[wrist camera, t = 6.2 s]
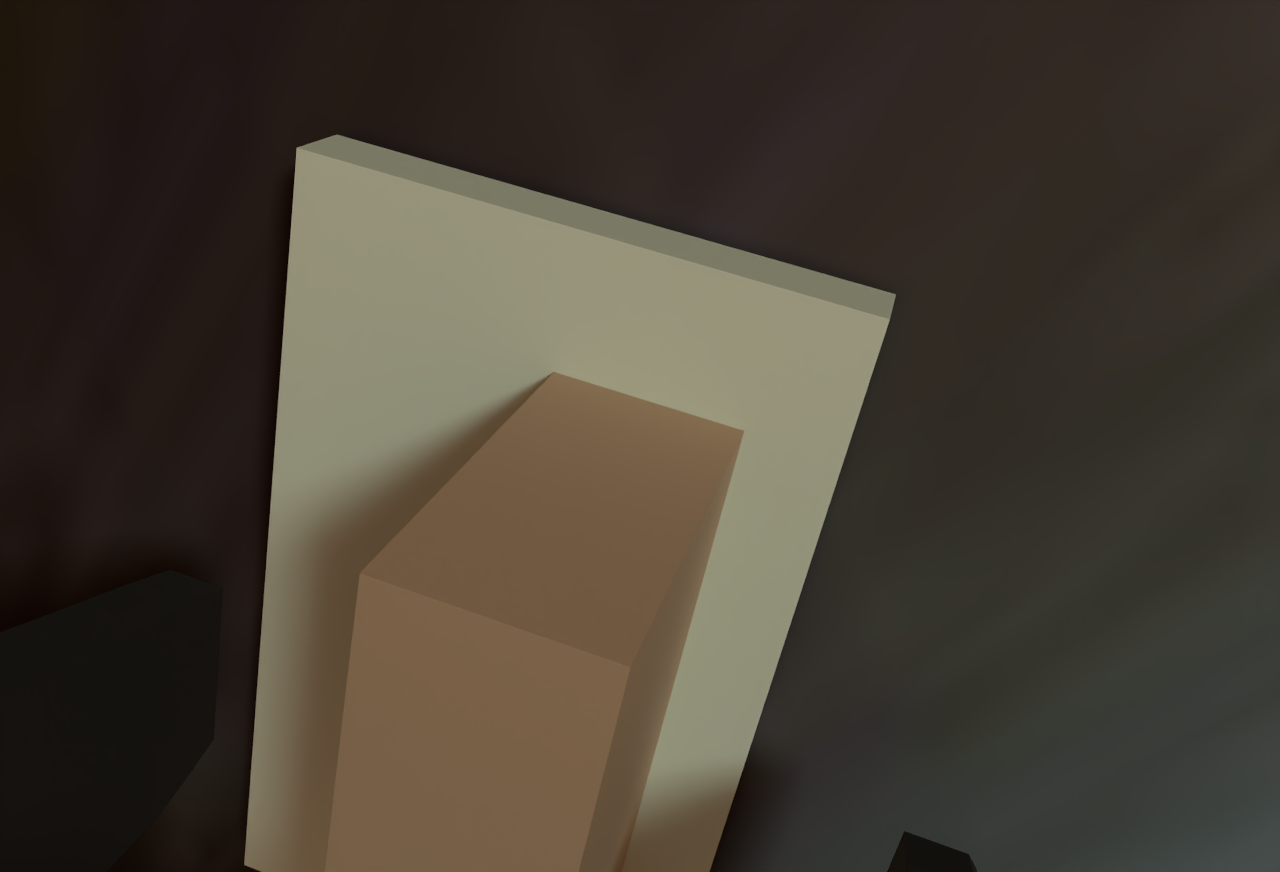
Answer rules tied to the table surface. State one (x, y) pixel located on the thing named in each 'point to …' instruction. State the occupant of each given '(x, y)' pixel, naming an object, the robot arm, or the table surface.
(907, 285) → the table surface
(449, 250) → the stub
